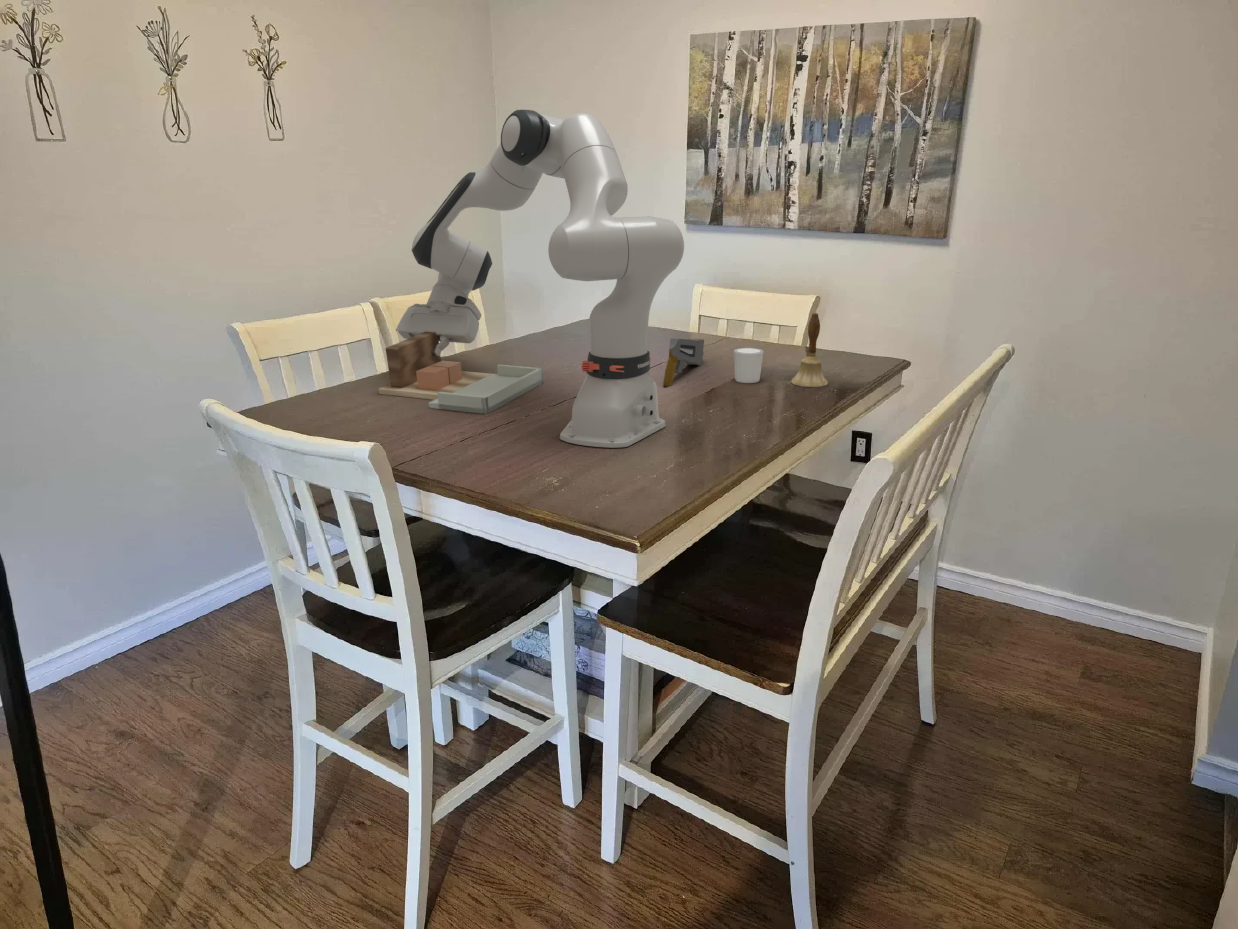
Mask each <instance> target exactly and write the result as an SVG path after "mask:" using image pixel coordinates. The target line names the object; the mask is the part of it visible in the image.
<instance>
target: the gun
mask: <svg viewBox="0 0 1238 929" xmlns="http://www.w3.org/2000/svg"><path fill="white" fill-rule="evenodd" d="M704 345H705V339H704V338H679V337H678V338H676V337H674V338H672V337H671V338H670V339H669V350H668V358H667V362H666V367H665V371H664V377H663V386H664V387H665V388H666V387H667V388H668V387H673V382H674V376H675V374H682V371H683V369H685V368H686V365H688V366H689V365H690V366H702V363H703V357H704V354H705V353H704Z"/></svg>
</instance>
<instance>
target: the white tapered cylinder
mask: <svg viewBox="0 0 1238 929" xmlns="http://www.w3.org/2000/svg"><path fill="white" fill-rule="evenodd" d="M763 357H764V350H763V349H761V348H755V347H739V348H735V349H733V362H734V363H733V364H734V380H735V381H736V382H737V383H742V384H753V383H758V382H760V380H761V372H762V365H763Z"/></svg>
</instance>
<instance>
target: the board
mask: <svg viewBox="0 0 1238 929" xmlns="http://www.w3.org/2000/svg"><path fill="white" fill-rule="evenodd" d="M491 374H492V373H486V372H478V371H475V372H474V371H465V370H464V371H463V370H462V379H461V380H459V381H457V382H455V383H453V384H449V385H448V386H446V387H444V388H442V389H439V390H437V391H436V390H426V389H418V384H417V381H416V382H414V383H412V384H410V385H407V386H405V387H403V388H396V387H391V383H389V384H386V385H385V386H381V387H379V388H377V390H378V391H377V392H378V395H383V396H394V397H404V398H413V399H422V400H423V399H424V400H431V401H433V400H436V399H438V392H448V393H453V392H455V391H457V390H459V389H461V388H463V387H465V386H468V385H470V384H472V383H474V382H476V381H478V380H480V379H482V378H484V377H487V376H489V375H491Z"/></svg>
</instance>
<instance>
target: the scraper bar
mask: <svg viewBox="0 0 1238 929" xmlns="http://www.w3.org/2000/svg"><path fill="white" fill-rule="evenodd" d="M439 343H440V341H439V340H438V335H436V332H426V331H425V332H423V333H421V334H418V335H416V336H413V337H411V338H409V339H404V340H402V341H400V342H399V341H398V342H397V343H395V344H392V345H390V346H387V347H385V356H386V361H387V368H388V375H389V384H391V387H396V388H403V387H405V386H407V385H410V384H412V383H414V382H416V381H417V374H416V371H418V370H420V369H423V368H425V367H428V366H430V365H433V364H435V363H438V362H440V361H442V358H441V355H440V356H433V354H432V353H431V350H432V348H433V346H437V345H438V344H439Z"/></svg>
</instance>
